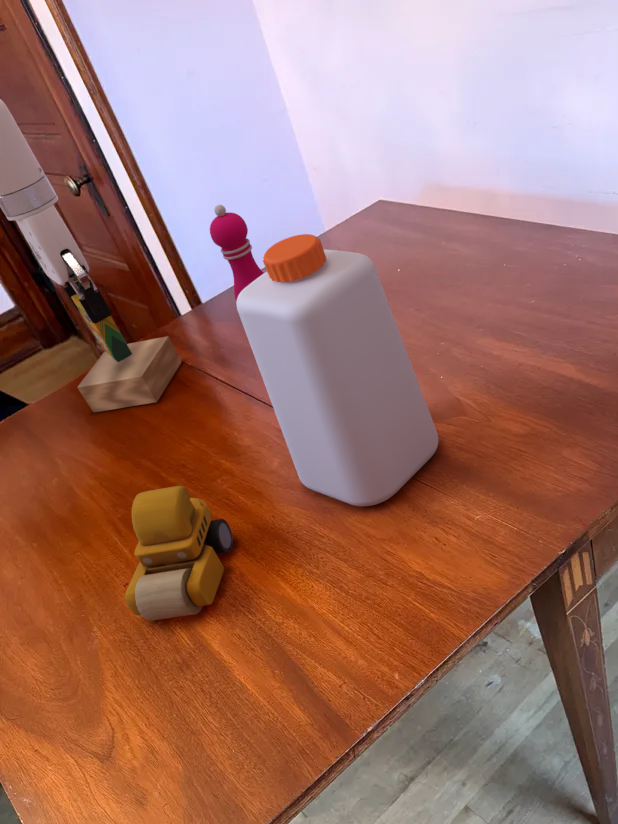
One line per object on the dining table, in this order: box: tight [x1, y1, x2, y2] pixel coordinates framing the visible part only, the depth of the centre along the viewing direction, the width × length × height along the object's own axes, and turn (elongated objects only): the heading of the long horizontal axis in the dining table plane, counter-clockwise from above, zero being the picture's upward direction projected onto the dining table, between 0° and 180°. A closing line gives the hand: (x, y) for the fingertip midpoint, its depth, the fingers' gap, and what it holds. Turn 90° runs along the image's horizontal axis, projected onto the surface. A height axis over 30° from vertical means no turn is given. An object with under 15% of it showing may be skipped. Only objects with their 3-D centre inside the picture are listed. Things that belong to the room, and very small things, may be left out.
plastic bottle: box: [235, 233, 439, 507], centre depth 83 cm, size 15×15×28 cm
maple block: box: [77, 335, 183, 413], centre depth 123 cm, size 12×12×5 cm
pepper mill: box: [209, 204, 265, 303], centre depth 124 cm, size 7×7×20 cm
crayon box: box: [71, 294, 132, 362], centre depth 117 cm, size 7×3×12 cm, turn 36°
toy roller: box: [124, 485, 234, 622], centre depth 82 cm, size 9×14×10 cm, turn 177°
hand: (94, 312), depth 116 cm, fingers closed on crayon box, 7 cm apart
